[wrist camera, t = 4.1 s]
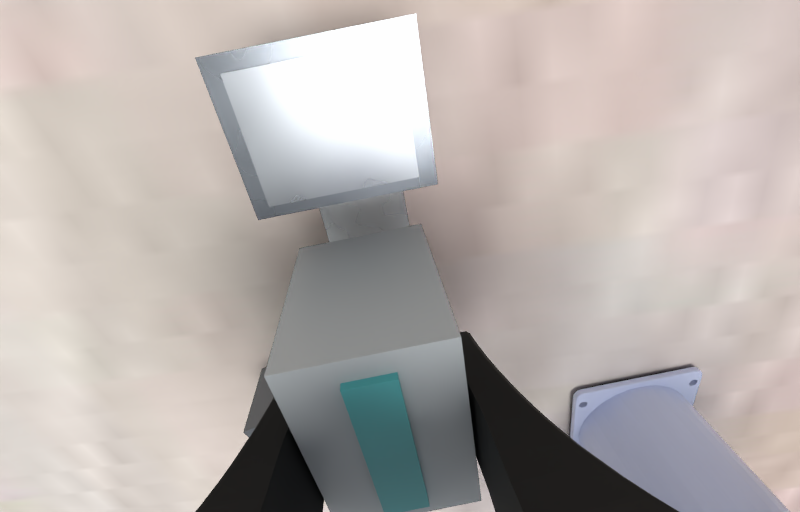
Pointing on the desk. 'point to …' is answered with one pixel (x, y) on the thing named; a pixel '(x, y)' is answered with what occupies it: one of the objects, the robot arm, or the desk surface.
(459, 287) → the desk surface
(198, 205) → the desk surface
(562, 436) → the robot arm
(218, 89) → the rail
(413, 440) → the grey module
